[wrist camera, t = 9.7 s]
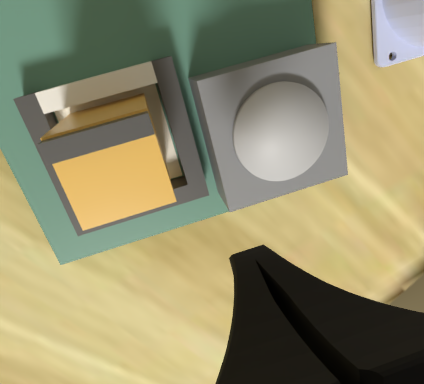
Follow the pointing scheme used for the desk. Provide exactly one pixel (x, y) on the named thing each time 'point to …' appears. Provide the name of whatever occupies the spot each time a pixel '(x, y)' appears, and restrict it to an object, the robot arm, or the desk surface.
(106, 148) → the plug
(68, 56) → the board
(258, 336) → the robot arm
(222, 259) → the desk surface
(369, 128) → the desk surface
